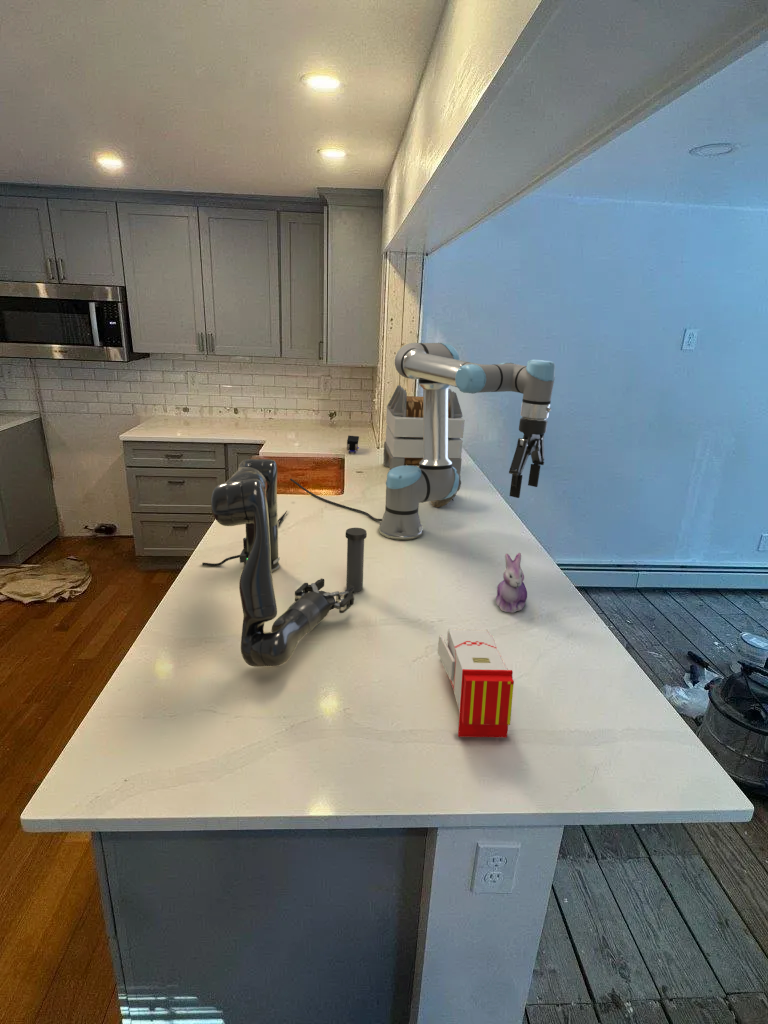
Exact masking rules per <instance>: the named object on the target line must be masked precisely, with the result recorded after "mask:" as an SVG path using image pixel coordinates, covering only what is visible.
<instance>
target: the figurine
mask: <svg viewBox="0 0 768 1024" xmlns="http://www.w3.org/2000/svg"><path fill="white" fill-rule="evenodd" d="M511 557H512V556H511V555H509V553H505V555H504V559H505V560H504V561H505V569H504V571H503V580H502V581H500V582H499V583H498V585H497V589H496V597H495V603H496V606H497V607H499V609H500V610H501V611H502V612H505V613H512V614H513V613H517V612H519V611H522V610H523V609H524V608H525V605H526V602H527V599H528V590H527V586H526V584H525V582H524V580H525V574H524V571H523V569H522V567H521V562H522V561H521V560H522V553H521V552H518V553H516V554H515V557H514V559H512V558H511Z"/></svg>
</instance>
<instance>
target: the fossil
mask: <svg viewBox="0 0 768 1024" xmlns="http://www.w3.org/2000/svg"><path fill="white" fill-rule="evenodd" d="M461 485H462V481H461V477H460V478H459V485H458V488H457V491H456V492H455V494H453V496H451V497H450V498H446V499H443V500H434V501H430V504H431V505H432V507H433V508H441V507H443V506H447V505H448V504H449V503H450V502H451V501H452V502H454V498H455V497H456V495H457V493H458V492H459V491H460V489H461Z"/></svg>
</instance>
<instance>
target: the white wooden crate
mask: <svg viewBox="0 0 768 1024" xmlns="http://www.w3.org/2000/svg"><path fill="white" fill-rule="evenodd" d="M407 394H408V393H407V390H406V389H404V388H403V387H402V385H399V384H398V385H397V386H396V388H395V390H394V392H393V394H392V395H391V398H390V400H389V402H388V404H387V405H386V413H385V414H386V415H385V423H386V428H385V438H384V442H383V466H384V467H388V468H389V471H390V470H391V469H393V468H395V467H398V466H404V465H406V466H409V465H412V466H417V467H419V462H420V461H421V460H422V459H423V458H424V455H423V396H415V395H414V396H413V395H412V396H411V395H407ZM464 429H465V419H464V418H463V411H462V408H461V405H460V402H459V398H458V395H457V392H455V391H453V390H452V389H451V388H448V459H449V460H450V461H451V462H452V467H454V468H455V469H456V470H457V474H458V476H459V478H460V479H461V472H462V461H463V460H462V453H463V442H464V441H463V440H462V439H463V438H464V431H465V430H464Z"/></svg>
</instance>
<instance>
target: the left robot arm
mask: <svg viewBox="0 0 768 1024" xmlns="http://www.w3.org/2000/svg"><path fill="white" fill-rule="evenodd" d="M210 498H211V499H210V509H211V513H212V515H213V517H214V519H215V520H216V522H217V523H218V524H219V525H221V526H224V527H235V526H241V525H245V536H244V538H243V539H242V541H243V542H242V543H243V549H242V550H241V552H240V554H236V555H233V556H229V557H226V558H225V559H222V561H220V562H216V563H210V562H201V563H202V564H201V565H202V566H209V567H218V566H222V565H223V564H225V563H226V562H228V561H231V560H234V559H238V558H239V564H243V568H242V570H241V572H240V573H241V574H240V578H239V586H238V588H239V596H240V602H241V609H242V614H243V616H242V617H243V619H242V626H241V637H240V654H241V657H242V659H243V661H244V662H245V663H246V665H248V666H249V667H253V668H256V667H258V668H260V667H261V668H263V667H279V666H282V665H284V664H286V663H287V662H288V661H289V660H290V659H291V658H292V656H293V654H294V652H295V649H296V648H297V646H298V644H299V642H300V641H301V640H302V639H303V638H304V637H305V636H306V635H307V634H308V633H310V632H311V631H313V630H314V629H315V628H316V627H317V626H318V625H319V624H320V623H321V622H322V621H323V620H324V619H325V618H327V616H328V614H329V612H330V611H332V610H335V609H336V610H339V611H338V612H339V613H340V614H344V613H345V612H347V611H348V610H349V609H350V608H351V607H352V606H353V605H354V604H355V593H354V587H353V586H351V585H350V586H349V587H348V588H347V589H345V590H344V591H342V592H340V591H338V590H337V591H331V592H329V591H325V590H321V589H322V588H323V587H324V586H325V578H320V579H318V580H316V581H315V582H313V583H310V584H309V582H304V583H302V584H301V585H300V586H299V587H298V588H297V589H296V590H295V591H294V602H293V603H292V604H290V606H289V607H288V608H287V610H286V611H284V612H283V613H282V614H281V615H280V616H278V618H277V619H275V618H276V617H277V615H278V606H277V600H276V594H275V588H274V582H273V581H274V580H273V574H272V573H273V572H276V571H277V570H279V567H280V563H279V562H280V560H281V557H280V556H279V527H278V526H279V522H278V520H279V518H278V517H279V516H278V465H277V462H276V461H275V459H269V458H268V459H267V458H248V459H243V460H242V461H241V462H240V463H239V465H238V467H237V470H236V471H235V472H234V473H233V474H232V475H231V476H230V478H229V479H227V480H226V481H225V482H223V483H219V484H216V486H215V487H214V488H213V490H212V492H211V497H210ZM342 597H343V598H342ZM274 619H275V621H273V620H274ZM269 621H273V623H272V625H271V629H270V631H267V632H266V631H265V630H264V629H265V623H267V622H269Z"/></svg>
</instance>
